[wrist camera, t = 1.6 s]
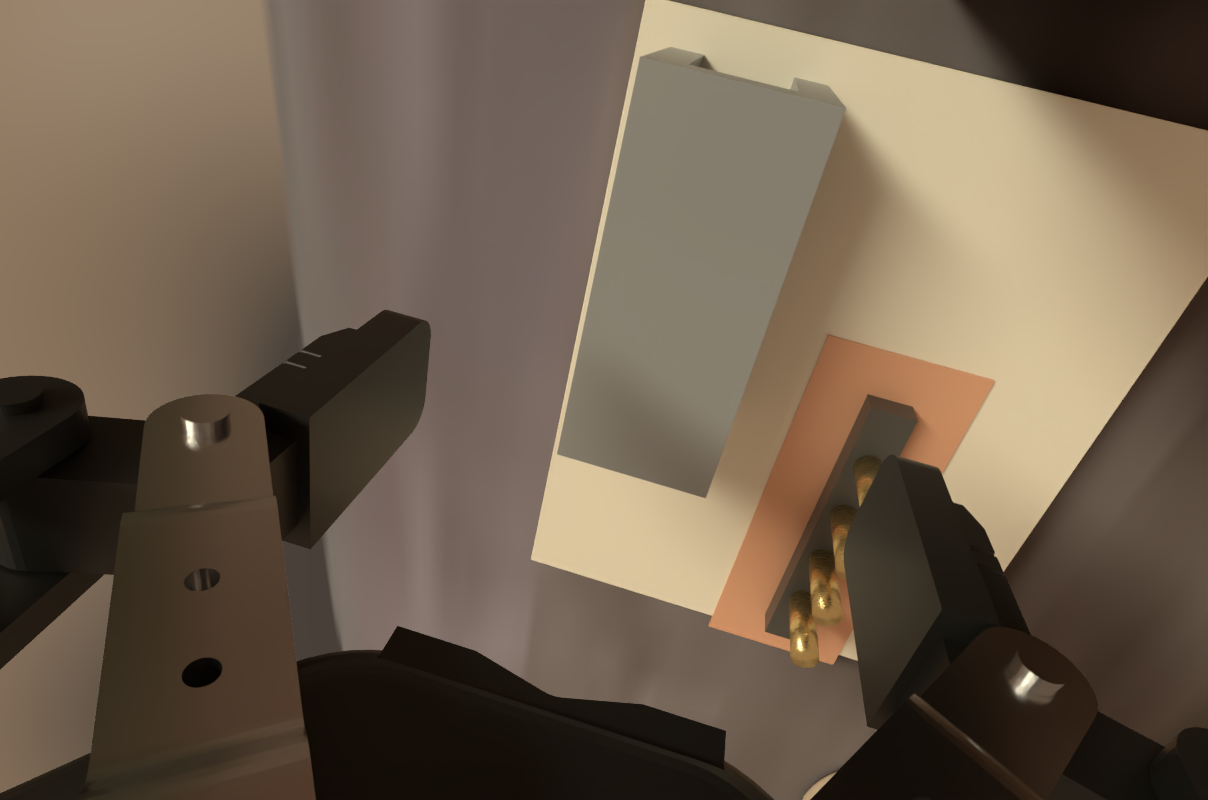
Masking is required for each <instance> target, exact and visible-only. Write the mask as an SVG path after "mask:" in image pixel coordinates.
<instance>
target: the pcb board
mask: <svg viewBox="0 0 1208 800" xmlns="http://www.w3.org/2000/svg"><path fill="white" fill-rule="evenodd" d="M668 47H674V48H678V49H682V50H686V51H690V52H694V53H698V54H702V55H704V57H703V61H702V65H701V68H705V69H709V70H713V71H717V72H721V73H725V74H729V75H733V76H737V77H741V78H745V79H749V80H753V81H757V82H761V83H765V84H769V85H773V86H778V87H782V88H786V89H791V86H792V82H793V79H794V77H796V78H800V79H804V80H808V81H812V82H816V83H820V84H824V85H828V86H829V87H830V88H831V89H832V91H833V92H834V93H835V94H836V96H837V97H838V98H839V100H840V101H841V102H842V103H843V105H844V106H845V107H846V110H845V113H844V115H843V118H842V121H841V124H840V127H839V129H838V132H837V135H836V138H835V140H834V143H833V146H832V149H831V152H830V154H829V157H828V160H827V163H826V166H825V168H824V171H823V174H822V177H821V179H820V182H819V185H818V188H817V191H816V193H815V196H814V199H813V202H812V204H811V207H810V210H809V213H808V216H807V218H806V221H805V224H804V227H803V229H802V232H801V235H800V238H799V241H798V243H797V246H796V249H795V252H794V255H793V257H792V260H791V263H790V266H789V268H788V271H787V274H786V277H785V280H784V282H783V285H782V288H781V291H780V293H779V296H778V299H777V302H776V305H775V307H774V310H773V313H772V316H771V318H770V321H769V324H768V327H767V330H766V332H765V335H764V338H763V341H762V344H761V346H760V349H759V352H758V355H757V357H756V360H755V363H754V366H753V369H752V371H751V374H750V377H749V380H748V382H747V385H746V388H745V391H744V394H743V396H742V399H741V402H740V405H739V407H738V410H737V413H736V416H735V419H734V421H733V424H732V427H731V430H730V433H729V435H728V438H727V441H726V444H725V446H724V449H723V452H722V455H721V458H720V460H719V463H718V466H717V469H716V471H715V474H714V477H713V480H712V483H711V485H710V488H709V491H708V494H707V496H706V498H703V497H699V496H696V495H693V494H689V493H686V492H682V491H679V490H676V489H672V488H669V487H666V486H662V485H659V484H655V483H652V482H649V481H645V480H642V479H639V478H635V477H632V476H629V475H625V474H622V473H618V472H615V471H612V470H608V469H605V468H602V467H598V466H595V465H591V464H588V463H585V462H581V461H578V460H575V459H571V458H568V457H564V456H561V455H558V454H557V451H558V447H559V442H560V437H561V432H562V427H563V423H564V418H565V413H566V408H567V404H568V399H569V394H570V389H571V384H572V380H573V375H574V370H575V365H576V360H577V356H578V351H579V346H580V341H581V337H582V332H583V327H584V322H585V317H586V313H587V308H588V303H589V298H590V293H591V289H592V284H593V279H594V274H595V270H596V265H597V260H598V255H599V250H600V246H601V241H602V236H603V231H604V226H605V222H606V217H607V212H608V207H609V203H610V198H611V193H612V188H613V183H614V179H615V174H616V169H617V164H618V159H619V155H620V150H621V145H622V140H623V136H624V131H625V126H626V121H627V116H628V112H629V107H630V102H631V97H632V92H633V88H634V83H635V78H636V73H637V69H638V64H639V59H640V57H641V56H644V55H647V54H650V53H653V52H656V51H659V50H662V49H665V48H668ZM1207 277H1208V130H1204V129H1200V128H1196V127H1192V126H1188V125H1183V124H1179V123H1175V122H1171V121H1167V120H1163V119H1159V118H1154V117H1150V116H1146V115H1142V114H1138V113H1134V112H1130V111H1125V110H1121V109H1117V108H1113V107H1109V106H1105V105H1101V104H1096V103H1092V102H1088V101H1084V100H1080V99H1076V98H1072V97H1067V96H1063V95H1059V94H1055V93H1051V92H1047V91H1043V90H1038V89H1034V88H1030V87H1026V86H1022V85H1018V84H1014V83H1009V82H1005V81H1001V80H997V79H993V78H989V77H985V76H980V75H976V74H972V73H968V72H964V71H960V70H956V69H951V68H947V67H943V66H939V65H935V64H931V63H927V62H922V61H918V60H914V59H910V58H906V57H902V56H898V55H893V54H889V53H885V52H881V51H877V50H873V49H869V48H864V47H860V46H856V45H852V44H848V43H844V42H840V41H835V40H831V39H827V38H823V37H819V36H815V35H811V34H806V33H802V32H798V31H794V30H790V29H786V28H782V27H777V26H773V25H769V24H765V23H761V22H757V21H753V20H748V19H744V18H740V17H736V16H732V15H728V14H724V13H719V12H715V11H711V10H707V9H703V8H699V7H695V6H690V5H686V4H682V3H678V2H674V1H670V0H646V1H645V5H644V10H643V15H642V20H641V25H640V30H639V35H638V40H637V44H636V49H635V54H634V59H633V64H632V69H631V74H630V79H629V84H628V88H627V93H626V98H625V103H624V108H623V113H622V118H621V123H620V127H619V132H618V137H617V142H616V147H615V152H614V157H613V162H612V166H611V171H610V176H609V181H608V186H607V191H606V196H605V201H604V206H603V210H602V215H601V220H600V225H599V230H598V235H597V240H596V245H595V249H594V254H593V259H592V264H591V269H590V274H589V279H588V284H587V288H586V293H585V298H584V303H583V308H582V313H581V318H580V323H579V327H578V332H577V337H576V342H575V347H574V352H573V357H572V362H571V367H570V371H569V376H568V381H567V386H566V391H565V396H564V401H563V406H562V410H561V415H560V420H559V425H558V430H557V435H556V440H555V445H554V449H553V454H552V459H551V464H550V469H549V474H548V479H547V484H546V489H545V493H544V498H543V503H542V508H541V513H540V518H539V523H538V528H537V532H536V537H535V542H534V547H533V552H532V557H531V560H534V561H537V562H541V563H544V564H547V565H550V566H553V567H557V568H560V569H563V570H566V571H570V572H573V573H576V574H579V575H583V576H586V577H589V578H592V579H595V580H599V581H602V582H605V583H608V584H612V585H615V586H618V587H621V588H624V589H628V590H631V591H634V592H637V593H641V594H644V595H647V596H650V597H654V598H657V599H660V600H663V601H666V602H670V603H673V604H676V605H679V606H683V607H686V608H689V609H692V610H695V611H699V612H702V613H705V614H708V615H712V618H711V620H710V622H709V626H710V627H713V628H716V629H719V630H723V631H726V632H729V633H732V634H735V635H739V636H742V637H745V638H748V639H751V640H755V641H758V642H761V643H764V644H767V645H771V646H774V647H777V648H780V649H784V650H787V651H790V639H786V638H783V637H780V636H777V635H774V634H770V633H767V632H765V613H766V611H767V609H768V607H769V604H770V602H771V600H772V598H773V596H774V594H775V592H776V590H777V587H778V585H779V583H780V581H781V579H782V577H783V575H784V572H785V570H786V568H787V566H788V564H789V562H790V560H791V557H792V555H793V553H794V551H795V549H796V547H797V545H798V542H799V540H800V538H801V536H802V534H803V532H804V530H805V527H806V525H807V523H808V521H809V519H810V517H811V515H812V512H813V510H814V508H815V506H816V504H817V502H818V500H819V498H820V495H821V493H822V491H823V489H824V487H825V485H826V483H827V480H828V478H829V476H830V474H831V472H832V470H833V468H834V465H835V463H836V461H837V459H838V457H839V455H840V453H841V450H842V448H843V446H844V444H845V442H846V440H847V438H848V435H849V433H850V431H851V429H852V427H853V425H854V423H855V421H856V418H857V416H858V414H859V412H860V410H861V408H862V406H863V403H864V401H865V399H866V397H867V395H868V394H869V395H873V396H876V397H880V398H884V399H887V400H891V401H894V402H898V403H901V404H905V405H909V406H912V407H913V409H914V412H915V414H916V417H917V420H918V422H917V424H916V426H915V428H914V430H913V432H912V434H911V435H910V437H909V439H908V441H907V443H906V445H905V447H904V449H903V451H902V453H901V455H900V457H903V458H907V459H911V460H914V461H918V462H921V463H925V464H928V465H932V466H935V467H938V468H939V469H940V471H941V473H942V476H943V478H944V481H945V483H946V486H947V489H948V491H949V494H950V496H951V499H952V501H953V503H957V504H960V505H963V506H964V507H965V508H966V509H967V510H968V511H969V512H970V513H971V514H972V516H973V517H974V518H975V519H976V520H977V521H978V522H979V523H980V524H981V525H982V527H983V528H984V529H985V531H986V533H987V535H988V538H989V540H990V542H991V544H992V547H993V549H994V551H995V553H994V556H995V557H997V558H998V561H999V563H1000V565H1001V568H1002V570H1003V572H1004V571H1005V569H1006V568H1007V566H1008V565H1009V563H1010V562H1011V560H1012V559H1013V557H1014V556H1015V555H1016V553H1017V552H1018V550H1019V549H1020V547H1021V546H1022V544H1023V543H1024V542H1025V540H1026V539H1027V537H1028V536H1029V534H1030V533H1031V531H1032V530H1033V529H1034V527H1035V526H1036V524H1037V523H1038V521H1039V520H1040V518H1041V517H1042V516H1043V514H1044V513H1045V511H1046V510H1047V508H1048V507H1049V505H1050V504H1051V503H1052V501H1053V500H1054V498H1055V497H1056V495H1057V494H1058V492H1059V491H1060V490H1061V488H1062V487H1063V485H1064V484H1065V482H1066V481H1067V479H1068V478H1069V476H1070V475H1071V474H1072V472H1073V471H1074V469H1075V468H1076V466H1077V465H1078V463H1079V462H1080V461H1081V459H1082V458H1083V456H1084V455H1085V453H1086V452H1087V450H1088V449H1089V448H1090V446H1091V445H1092V443H1093V442H1094V440H1095V439H1096V437H1097V436H1098V435H1099V433H1100V432H1101V430H1102V429H1103V427H1104V426H1105V424H1106V423H1107V422H1108V420H1109V419H1110V417H1111V416H1112V414H1113V413H1114V411H1115V410H1116V409H1117V407H1118V406H1119V404H1120V403H1121V401H1122V400H1123V398H1124V397H1125V396H1126V394H1127V393H1128V391H1129V390H1130V388H1131V387H1132V385H1133V384H1134V382H1135V381H1136V380H1137V378H1138V377H1139V375H1140V374H1141V372H1142V371H1143V369H1144V368H1145V367H1146V365H1147V364H1148V362H1149V361H1150V359H1151V358H1152V356H1153V355H1154V354H1155V352H1156V351H1157V349H1158V348H1159V346H1160V345H1161V343H1162V342H1163V341H1164V339H1165V338H1166V336H1167V335H1168V333H1169V332H1170V330H1171V329H1172V328H1173V326H1174V325H1175V323H1176V322H1177V320H1178V319H1179V317H1180V316H1181V315H1182V313H1183V312H1184V310H1185V309H1186V307H1187V306H1188V304H1189V303H1190V302H1191V300H1192V299H1193V297H1194V296H1195V294H1196V293H1197V291H1198V290H1199V288H1200V287H1201V286H1202V284H1203V283H1204V281H1205V280H1206V278H1207ZM838 581H839V590H840V599H841V607H842V616H843V618H842V620H841V622H840V623H839V624H837V625H835V626H830V627H826V626H821V625H819V624H817V633H818V647H819V661H822V662H825V663H829V664H832V665H833V664H834V662H835V660H836V659H837V657H838V655H841V656H844V657H847V658H850V659H854V660H857V661H858V658H857V651H856V644H855V637H854V630H853V623H852V616H851V610H850V603H849V596H848V589H847V582H846V580H843V579H842V578H840V577H839V576H838Z"/></svg>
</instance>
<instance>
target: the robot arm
mask: <svg viewBox="0 0 1208 800" xmlns="http://www.w3.org/2000/svg"><path fill="white" fill-rule="evenodd" d="M430 337H431V330H430V325H429V323H428V322H427V321H425V320H421V319H418V318H414V317H411V316H407V315H403V314H400V313H396V312H393V311H389V310H383V311H382V312H380V313H379V314H378V315H376V316H375V317H374V318H372V319H371V320H369V321H368V322H367V323H365V324H364V325H363V326H361V327H360V328H359V329H357V330H355V329H352V328H347V329H343V330H340V331H337V332H333V333H330V334H327V335H323V336H321V337H319V338H318V339H316V340H315V341H314V342H312V343H311V344H309V345H308V346H306V347H305V348H304V349H302V352H301V353H300V352H298V353H296V354H295V355H293V356H292V357H291V358H289V359H288V360H287V361H286V364H283V363H282V364H281V365H279V366H278V367H276V368H275V369H273V370H272V371H271V372H269V373H268V374H266V375H265V376H263V377H262V378H261V379H259V380H258V381H256V382H255V383H253V384H252V385H250V386H249V387H248V388H246V389H245V390H243V391H242V392H240V393H239V394H238V395H236V396H229V395H223V394H202V395H193V396H188V397H184V398H179V399H176V400H173V401H170V402H168V403H166V404H164V405H162V406H160V407H158V408H157V409H156V410H154V411H153V412H152V413H151V414H150V415H149V416H148V417H147V419H146V420H145V421H144V420H132V419H120V418H108V417H96V416H88V414H87V409H86V404H85V398H84V395H83V392H82V390H81V389H80V388H79V387H78V386H76V385H75V384H73V383H71V382H69V381H66V380H63V379H59V378H54V377H46V376H17V377H8V378H2V379H0V669H1V668H2V667H3V666H4V665H6V664H7V663H8V662H9V661H10V660H11V659H12V658H13V657H14V656H15V655H16V654H18V653H19V652H20V651H21V650H22V649H23V648H24V647H25V646H26V645H27V644H28V643H30V642H31V641H32V640H33V639H34V638H35V637H36V636H37V635H38V634H40V632H42V631H43V630H44V629H45V628H46V627H47V626H48V625H49V624H50V623H52V622H53V621H54V620H55V619H56V618H57V617H58V616H59V615H60V614H61V613H63V612H64V611H65V610H66V609H67V608H68V607H69V606H70V605H71V604H72V603H73V602H75V601H76V600H77V599H78V598H79V597H80V596H81V595H82V594H83V593H84V592H86V590H88V589H89V588H90V587H91V586H92V585H93V584H94V583H95V582H97V581H98V580H99V579H100V578H101V577H102V576H103V575H104V574H113V575H114V576H113V585H112V592H111V599H110V607H109V615H108V622H107V630H106V638H105V645H104V653H103V661H102V669H101V676H100V684H99V692H98V699H97V707H96V714H95V722H94V730H93V737H92V745H91V753H89V754H87V755H85V756H82V757H80V758H78V759H76V760H73V761H71V762H69V763H67V764H64V765H62V766H60V767H58V768H56V769H53V770H51V771H49V772H47V773H45V774H42V775H40V776H38V777H36V778H33V779H31V780H29V781H27V782H24V783H22V784H20V785H18V786H16V787H13V788H11V789H9V790H7V791H4V792H2V793H0V800H774V799H773V798H772V797H771V796H770V795H769V794H767V793H766V792H765V791H764V790H763V789H762V788H761V787H760V786H759V785H757V784H756V783H755V782H754V781H753V780H751V779H750V778H749V777H747V776H746V775H745V774H743V773H742V772H741V771H739V770H738V769H737V768H735V767H734V766H732V765H730V764H729V763H727V762H725V761H724V754H725V737H726V731H724V730H721V729H718V728H715V727H712V726H709V725H705V724H702V723H699V722H696V721H693V720H690V719H687V718H684V717H680V716H677V715H674V714H671V713H668V712H665V711H662V710H659V709H655V708H652V707H649V706H646V705H643V704H631V703H619V702H607V701H595V700H583V699H571V698H560V697H555V696H552V695H549V694H547V693H545V692H543V691H542V690H540V689H538V688H537V687H535V686H533V685H532V684H530V683H528V682H527V681H525V680H523V679H522V678H520V677H518V676H517V675H515V674H513V673H512V672H510V671H508V670H507V669H505V668H503V667H502V666H500V665H498V664H497V663H495V662H493V661H492V660H490V659H488V658H487V657H485V656H483V655H482V654H480V653H478V652H477V651H474V650H471V649H468V648H465V647H462V646H458V645H455V644H452V643H449V642H446V641H443V640H440V639H437V638H433V637H430V636H427V635H424V634H421V633H418V632H415V631H412V630H408V629H405V628H402V627H399V626H397V628H396V629H395V631H394V633H393V634H392V636H391V637H390V639H389V641H388V642H387V644H386V646H385V647H384V649H383V650H350V651H342V652H334V653H328V654H323V655H318V656H314V657H310V658H306V659H303V660H300V661H297V662H296V654H295V646H294V638H293V630H292V621H291V613H290V605H289V596H288V588H287V580H286V572H285V564H284V556H283V547H282V540H283V541H286V542H289V543H293V544H296V545H299V546H302V547H305V548H308V549H311V548H312V547H313V546H314V545H315V543H316V542H317V541H318V540H319V539H320V538H321V536H322V535H323V534H324V533H325V532H326V531H327V530H328V528H329V527H330V526H331V525H332V524H333V523H334V522H335V520H336V519H337V518H338V517H339V516H340V515H341V514H342V512H343V511H344V510H345V509H346V508H347V507H348V506H349V504H350V503H351V502H352V501H353V500H354V499H355V497H356V496H357V495H358V494H359V493H360V492H361V491H362V489H363V488H364V487H365V486H366V485H367V484H368V483H369V481H370V480H371V479H372V478H373V477H374V476H375V475H376V473H377V472H378V471H379V470H380V469H381V468H382V466H383V465H384V464H385V463H386V462H387V461H388V460H389V458H390V457H391V456H392V455H393V454H394V453H395V452H396V450H397V449H398V448H399V447H400V446H401V445H402V444H403V442H404V441H405V440H406V439H407V438H408V437H409V436H410V434H411V433H412V432H413V431H414V429H415V427H416V426H417V424H418V421H419V419H420V417H421V414H422V411H423V407H424V402H425V394H426V383H427V371H428V360H429V349H430ZM994 553H995V551H994V549H993V547H992V544H991V542H990V540H989V538H988V535H987V533H986V531H985V529H984V528H983V527H982V525H981V524H980V523H979V522H978V521H977V520H976V519H975V518H974V517H973V516H972V514H971V513H970V512H969V511H968V510H967V509H966V508H965V507H964V506H963V505H960V504H957V503H953V501H952V499H951V496H950V494H949V491H948V489H947V486H946V483H945V481H944V478H943V476H942V473H941V471H940V469H939V468H938V467H935V466H932V465H928V464H925V463H921V462H918V461H914V460H911V459H907V458H903V457H900V456H896V455H889V456H888V457H887V458H886V459H885V460H884V461H883V463H882V464H881V466H880V468H879V470H878V472H877V474H876V476H875V478H874V480H873V482H872V484H871V486H870V488H869V490H868V492H867V494H866V496H865V498H864V500H863V502H862V504H861V506H860V508H859V510H858V512H857V514H856V516H855V518H854V520H853V522H852V524H851V526H850V529H849V531H848V534H847V538H846V542H845V547H844V568H845V575H846V582H847V589H848V596H849V603H850V610H851V616H852V623H853V630H854V637H855V644H856V651H857V658H858V665H859V672H860V679H861V686H862V693H863V700H864V707H865V714H866V721H867V726H868V727H871V728H874V729H877V731H876V732H875V733H874V734H873V735H872V736H871V737H870V738H869V739H868V741H867V742H866V743H865V744H864V745H863V746H862V747H861V748H860V749H859V750H858V751H857V752H856V753H855V754H854V755H853V756H852V757H851V758H850V759H849V760H848V761H847V762H846V763H845V764H844V765H843V766H842V767H841V768H840V769H839V770H838V771H837V773H836V774H835V775H834V776H833V777H832V778H831V779H830V780H829V781H828V782H827V783H826V784H825V785H824V786H823V787H822V788H821V789H820V790H819V791H818V792H817V793H816V794H815V795H814V796H813V797H812V798H811V799H810V800H1208V729H1205V728H1198V727H1195V728H1187V729H1184V730H1183V731H1181V732H1180V733H1179V734H1178V735H1177V736H1176V737H1175V738H1174V739H1173V740H1172V741H1171V742H1170V743H1169V744H1168V745H1167V746H1166V747H1164V746H1162V745H1160V744H1158V743H1156V742H1154V741H1152V740H1150V739H1148V738H1147V737H1145V736H1143V735H1141V734H1139V733H1137V732H1135V731H1133V730H1132V729H1130V728H1128V727H1126V726H1124V725H1122V724H1120V723H1118V722H1117V721H1115V720H1113V719H1111V718H1109V717H1107V716H1105V715H1104V714H1102V713H1100V712H1099V711H1098V703H1097V699H1096V696H1095V693H1094V691H1093V689H1092V687H1091V686H1090V684H1089V682H1088V681H1087V679H1086V678H1085V677H1084V676H1083V674H1082V673H1081V672H1080V671H1079V670H1078V669H1077V668H1076V666H1075V665H1074V664H1073V663H1072V662H1070V661H1069V660H1068V659H1067V658H1066V657H1065V656H1064V655H1062V654H1061V653H1060V652H1058V651H1057V650H1056V649H1054V648H1053V647H1051V646H1050V645H1048V644H1047V643H1045V642H1043V641H1041V640H1040V639H1038V638H1036V637H1034V636H1032V635H1031V634H1030V632H1029V630H1028V627H1027V625H1026V623H1025V621H1024V618H1023V616H1022V614H1021V611H1020V609H1019V607H1018V604H1017V602H1016V600H1015V598H1014V595H1013V593H1012V591H1011V588H1010V586H1009V584H1008V581H1007V579H1006V577H1004V576H1002V574H1003V570H1002V568H1001V565H1000V563H999V561H998V558H997V557H995V556H994Z"/></svg>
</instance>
